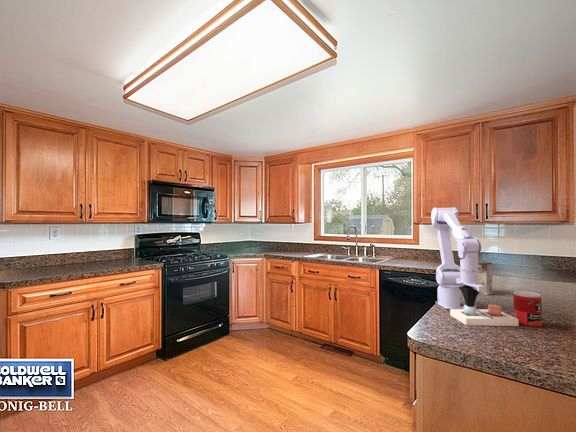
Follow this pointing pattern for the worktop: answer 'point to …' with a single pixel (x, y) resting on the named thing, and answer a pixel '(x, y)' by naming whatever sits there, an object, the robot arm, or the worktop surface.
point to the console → (484, 318)
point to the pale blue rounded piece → (469, 311)
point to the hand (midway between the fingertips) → (469, 306)
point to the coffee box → (485, 277)
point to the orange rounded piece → (494, 310)
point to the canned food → (528, 308)
